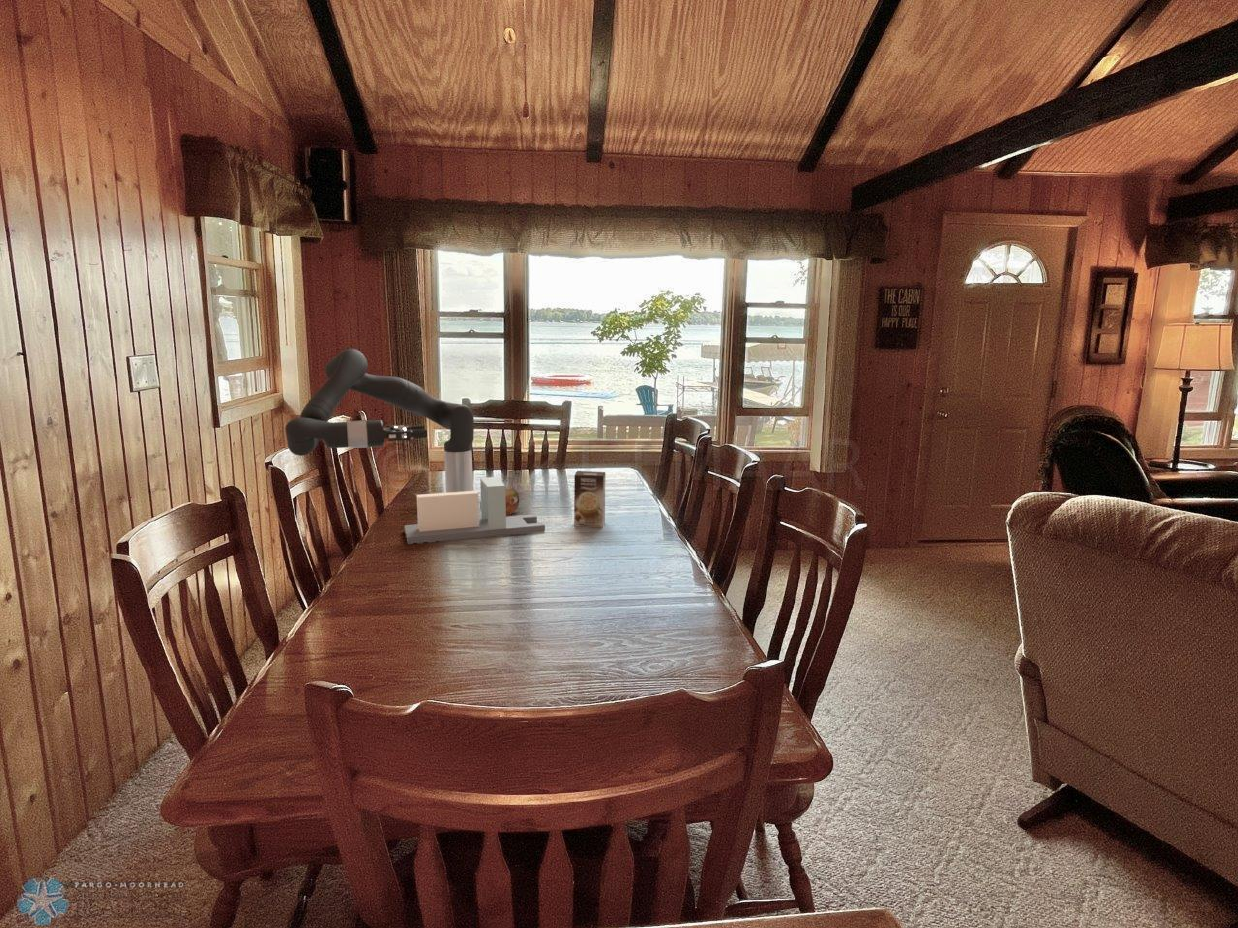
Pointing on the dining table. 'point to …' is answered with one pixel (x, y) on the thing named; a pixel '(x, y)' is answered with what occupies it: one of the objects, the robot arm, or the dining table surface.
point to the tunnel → (493, 502)
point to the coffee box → (589, 499)
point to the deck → (476, 530)
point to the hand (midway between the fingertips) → (425, 431)
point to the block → (447, 510)
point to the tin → (510, 501)
